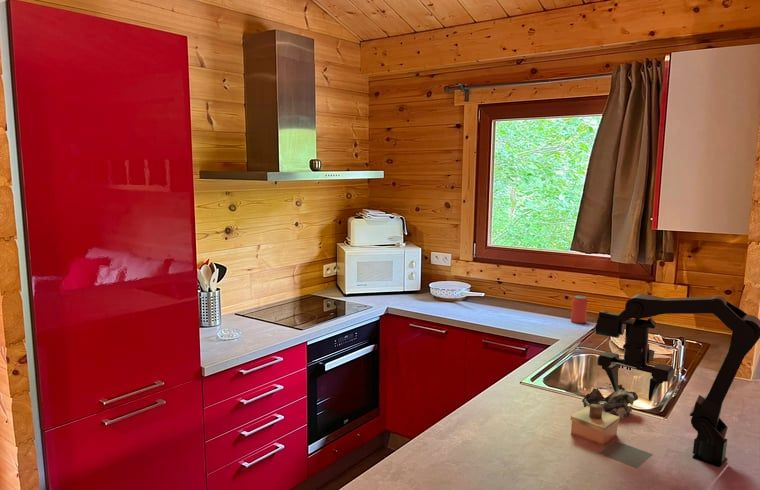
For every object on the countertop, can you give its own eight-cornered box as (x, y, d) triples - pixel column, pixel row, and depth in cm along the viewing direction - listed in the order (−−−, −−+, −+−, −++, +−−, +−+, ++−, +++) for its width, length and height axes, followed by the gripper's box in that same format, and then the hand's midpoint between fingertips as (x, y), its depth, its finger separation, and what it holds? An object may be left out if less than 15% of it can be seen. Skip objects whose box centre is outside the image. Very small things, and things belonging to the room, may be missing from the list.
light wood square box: (616, 436, 162) (617, 420, 162) (602, 447, 156) (603, 431, 155) (585, 425, 169) (586, 410, 168) (570, 435, 162) (571, 420, 162)
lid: (619, 421, 162) (620, 406, 161) (604, 432, 155) (605, 417, 154) (586, 409, 168) (587, 396, 168) (570, 420, 162) (571, 405, 161)
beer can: (587, 324, 269) (589, 298, 267) (573, 323, 269) (575, 298, 267) (582, 320, 276) (584, 295, 274) (568, 319, 276) (570, 294, 274)
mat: (652, 455, 152) (652, 454, 152) (637, 469, 145) (637, 468, 145) (614, 441, 159) (614, 440, 159) (598, 454, 152) (598, 453, 152)
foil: (580, 390, 185) (625, 373, 179) (597, 422, 184) (643, 405, 178) (575, 403, 175) (623, 384, 168) (594, 436, 173) (643, 419, 167)
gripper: (683, 341, 158) (678, 396, 160) (614, 328, 170) (611, 379, 173) (669, 351, 150) (664, 409, 152) (597, 336, 162) (594, 389, 165)
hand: (632, 395), depth 160 cm, fingers open, 9 cm apart
